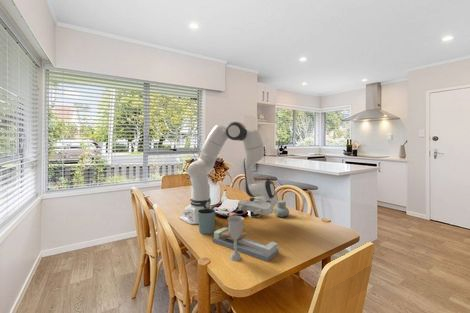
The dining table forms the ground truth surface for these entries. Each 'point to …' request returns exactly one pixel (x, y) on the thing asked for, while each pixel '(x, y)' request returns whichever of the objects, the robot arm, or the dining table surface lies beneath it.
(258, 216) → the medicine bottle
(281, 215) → the grey rounded piece
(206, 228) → the teal cup
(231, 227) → the chalice
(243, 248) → the rail board
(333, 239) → the dining table surface
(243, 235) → the carriage
